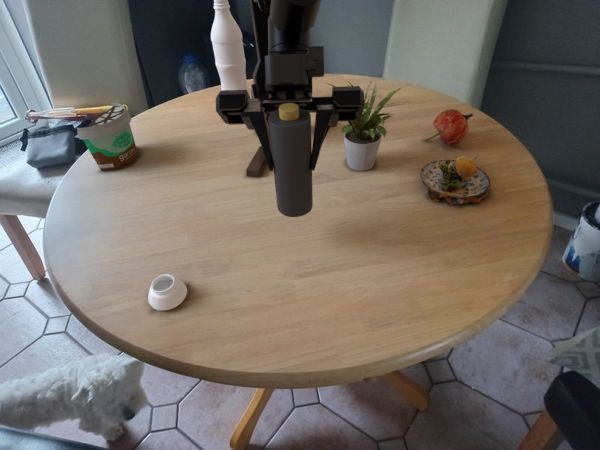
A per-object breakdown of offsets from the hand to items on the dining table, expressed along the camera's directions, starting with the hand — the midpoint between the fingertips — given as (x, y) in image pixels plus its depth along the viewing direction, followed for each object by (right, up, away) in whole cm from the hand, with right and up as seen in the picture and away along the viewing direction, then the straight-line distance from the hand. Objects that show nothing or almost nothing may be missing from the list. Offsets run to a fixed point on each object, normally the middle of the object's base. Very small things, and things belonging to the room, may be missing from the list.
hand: (291, 170), depth 48 cm
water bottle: (-15, +23, +47) cm, 54 cm away
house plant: (+12, +5, +25) cm, 28 cm away
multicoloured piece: (+29, 0, +18) cm, 34 cm away
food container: (-35, +6, +30) cm, 47 cm away
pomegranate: (+32, +10, +29) cm, 45 cm away
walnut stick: (-7, +5, +26) cm, 27 cm away
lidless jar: (-17, -17, +2) cm, 24 cm away
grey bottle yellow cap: (0, -4, +6) cm, 7 cm away
